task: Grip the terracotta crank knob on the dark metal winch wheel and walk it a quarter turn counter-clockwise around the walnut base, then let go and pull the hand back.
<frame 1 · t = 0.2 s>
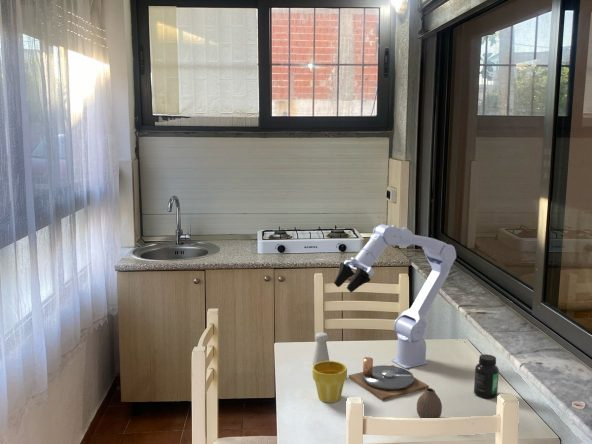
hand: (342, 287, 188), 31 cm above the table, tool tilted 45°, fingers open, 7 cm apart
vase: (428, 419, 168), on the table
supplement bottle: (485, 394, 184), on the table
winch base: (387, 383, 191), on the table
crank wheel: (388, 369, 190), point 5 cm above the table, hinge at 0.0°
salt shaker: (321, 371, 200), on the table
plant pot: (329, 398, 180), on the table
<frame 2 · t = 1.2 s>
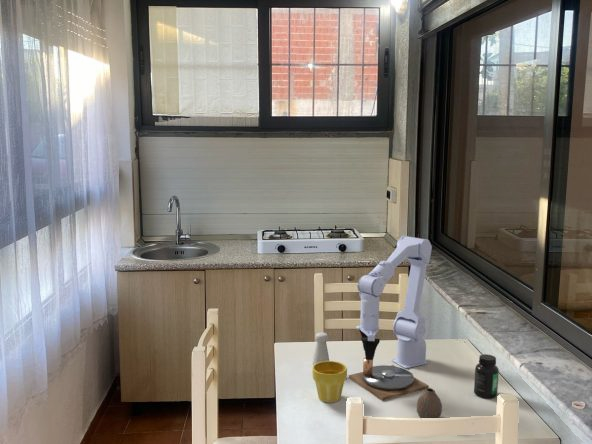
hand: (368, 354, 189), 9 cm above the table, tool pointing down, fingers open, 7 cm apart
nothing on the table moved.
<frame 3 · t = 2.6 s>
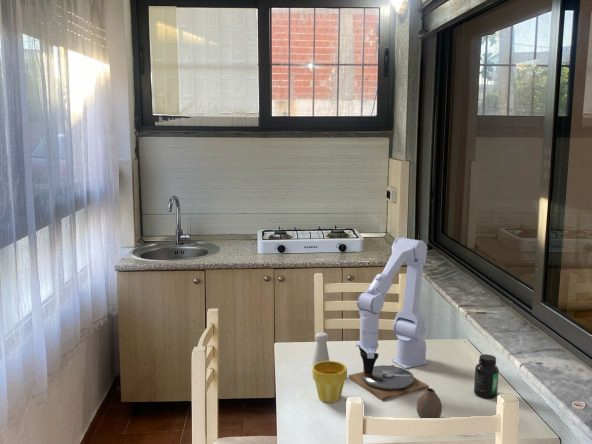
hand: (367, 371, 190), 4 cm above the table, tool pointing down, fingers closed on crank wheel, 3 cm apart
crank wheel: (388, 369, 190), point 5 cm above the table, hinge at 0.0°, touching gripper
everything else where it was.
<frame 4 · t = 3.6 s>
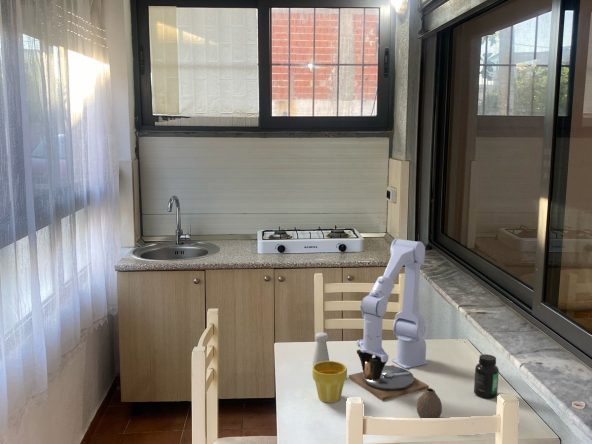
hand: (371, 375, 187), 4 cm above the table, tool pointing down, fingers open, 5 cm apart
crank wheel: (388, 369, 190), point 5 cm above the table, hinge at 16.6°, touching gripper
everything else where it was.
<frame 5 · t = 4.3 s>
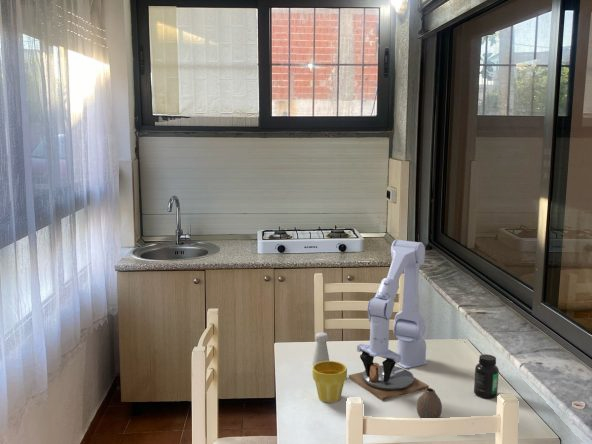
hand: (377, 378, 185), 4 cm above the table, tool pointing down, fingers open, 5 cm apart
crank wheel: (388, 369, 190), point 5 cm above the table, hinge at 40.1°, touching gripper
everything else where it was.
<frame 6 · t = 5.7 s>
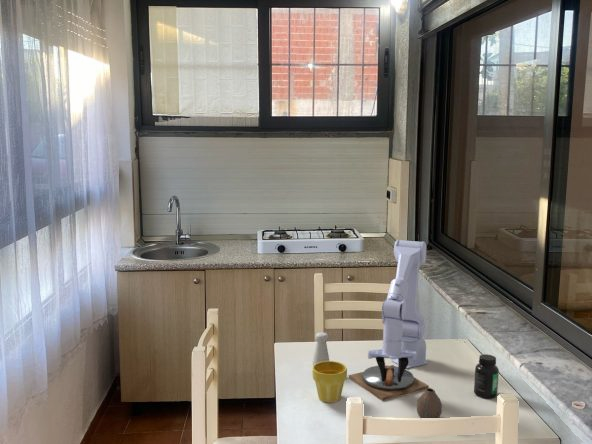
hand: (390, 380, 184), 4 cm above the table, tool pointing down, fingers open, 4 cm apart
crank wheel: (388, 369, 190), point 5 cm above the table, hinge at 83.7°, touching gripper
everything else where it was.
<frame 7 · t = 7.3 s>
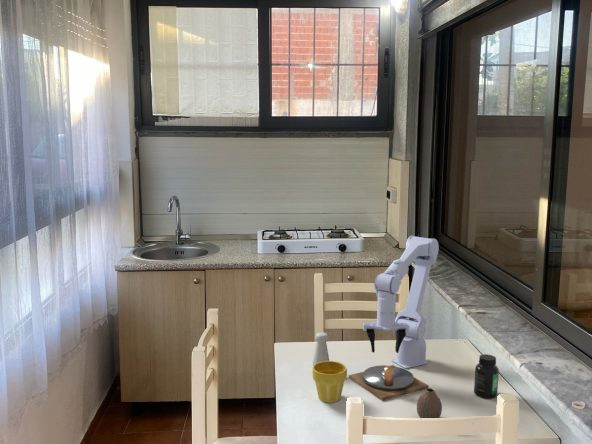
hand: (384, 351, 192), 9 cm above the table, tool pointing down, fingers open, 7 cm apart
crank wheel: (388, 369, 190), point 5 cm above the table, hinge at 83.8°
everything else where it was.
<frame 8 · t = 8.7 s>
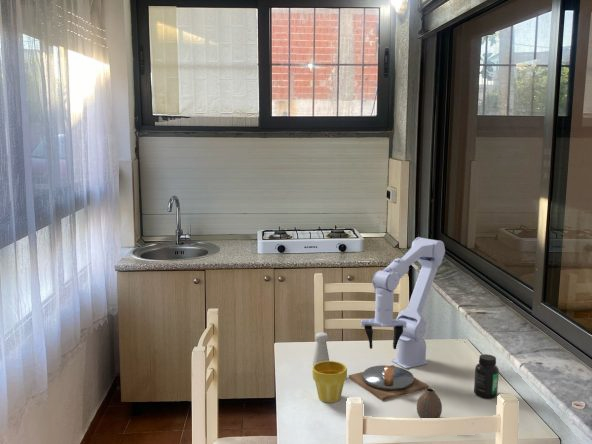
hand: (382, 347, 195), 9 cm above the table, tool pointing down, fingers open, 7 cm apart
nothing on the table moved.
at the end: crank wheel at +84° (first picture: +0°) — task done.
